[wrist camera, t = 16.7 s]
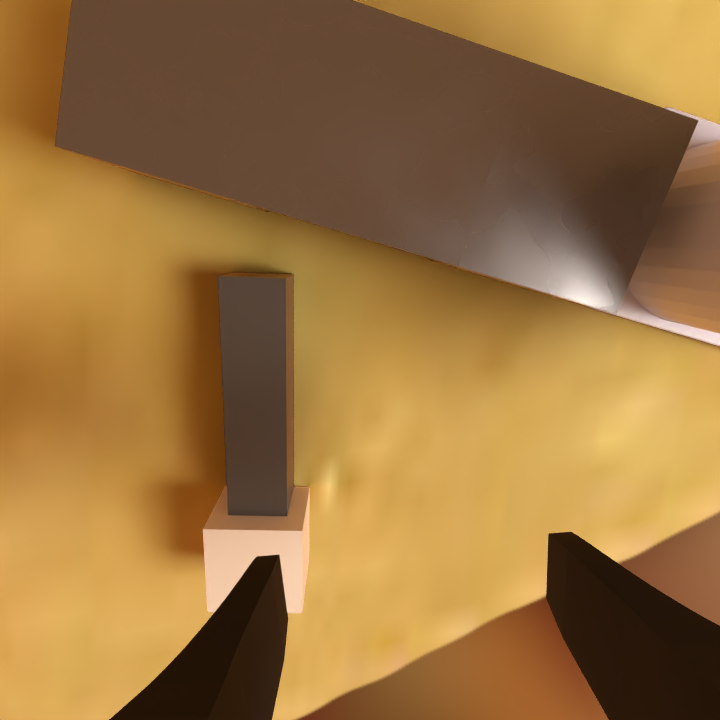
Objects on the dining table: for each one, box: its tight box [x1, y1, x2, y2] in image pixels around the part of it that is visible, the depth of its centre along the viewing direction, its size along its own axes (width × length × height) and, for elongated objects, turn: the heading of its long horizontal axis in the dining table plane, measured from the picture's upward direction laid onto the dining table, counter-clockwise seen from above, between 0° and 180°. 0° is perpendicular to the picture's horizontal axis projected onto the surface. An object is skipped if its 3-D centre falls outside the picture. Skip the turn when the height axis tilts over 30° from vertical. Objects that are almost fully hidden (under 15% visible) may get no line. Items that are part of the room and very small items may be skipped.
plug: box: [203, 272, 310, 613], centre depth 19 cm, size 4×14×4 cm, turn 178°
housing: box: [55, 0, 699, 314], centre depth 16 cm, size 18×6×5 cm, turn 74°
